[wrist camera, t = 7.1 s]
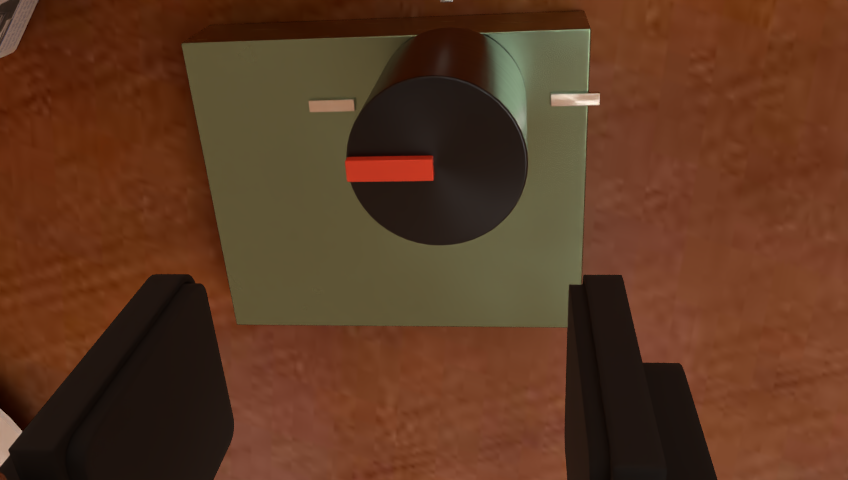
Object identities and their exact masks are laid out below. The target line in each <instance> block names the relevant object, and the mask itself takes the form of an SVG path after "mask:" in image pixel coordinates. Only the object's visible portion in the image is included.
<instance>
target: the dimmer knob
mask: <svg viewBox="0 0 848 480" xmlns="http://www.w3.org/2000/svg"><path fill="white" fill-rule="evenodd" d="M345 168H346V177H347V182H350V183H351V186H352V189H353V191H354V193H355V195H356V197H357V199H358V200H359V202H360V203H361V205H362V206H363V208H364V209H365V210H366V211H367V213H368V214H369V215H370V216H371V217H372V218H373V219H374V220H375V221H376V222H377V223H378V224H380V225H381V226H383V227H384V228H385V229H387V230H388V231H390V232H392V233H393V234H395V235H397V236H399V237H402V238H404V239H406V240H409V241H413V242H416V243H421V244H426V245H438V246H442V245H454V244H459V243H464V242H467V241H470V240H474V239H476V238H478V237H480V236H482V235H484V234H486V233H488V232H489V231H491V230H493V229H494V228H495V227H497V226H498V225H499V224H500V223H502V222H503V221H504V219H505V218H506V217H507V216H508V215H509V214H510V213H511V212H512V210H513V209H514V207H515V206H516V204H517V203H518V201H519V199H520V197H521V195H522V192H523V189H524V187H525V183H526V179H527V173H528V140H527V107H526V90H525V86H524V81H523V78H522V76H521V73H520V71H519V69H518V67H517V65H516V63H515V62H514V60H513V59H512V57H511V56H510V55H509V54H508V53H507V52H506V51H505V49H504V48H502V47H501V46H500V45H499V44H498V43H496V42H495V41H493V40H492V39H490V38H489V37H487V36H485V35H483V34H480V33H478V32H475V31H472V30H469V29H463V28H452V27H447V28H437V29H433V30H429V31H426V32H424V33H421V34H418V35H417V36H415V37H413V38H411V39H410V40H408V41H407V42H406V43H404V44H403V45H402V46H401V47H400V48H399V49H398V50H397V51H396V52H395V53H394V54H393V55H392V57H391V58H390V59H389V61H388V63H387V64H386V66H385V68H384V70H383V71H382V73H381V75H380V77H379V79H378V80H377V82H376V84H375V86H374V88H373V89H372V91H371V93H370V95H369V97H368V99H367V100H366V102H365V104H364V106H363V108H362V109H361V111H360V113H359V115H358V117H357V118H356V120H355V122H354V124H353V127H352V129H351V132H350V135H349V139H348V143H347V152H346V160H345Z"/></svg>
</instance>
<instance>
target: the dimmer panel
mask: <svg viewBox="0 0 848 480" xmlns="http://www.w3.org/2000/svg"><path fill="white" fill-rule="evenodd" d="M440 2H453V0H440ZM447 27H452V28H463V29H469V30H472V31H475V32H478V33H480V34H483V35H485V36H487V37H489V38H490V39H492V40H493V41H495V42H496V43H498V44H499V45H500V46H501V47H502V48H504V49H505V51H506V52H507V53H508V54H509V55H510V56H511V57H512V59H513V60H514V62H515V63H516V65H517V67H518V69H519V71H520V73H521V76H522V78H523V81H524V86H525V90H526V107H527V140H528V173H527V179H526V183H525V187H524V189H523V192H522V195H521V197H520V199H519V201H518V203H517V204H516V206H515V207H514V209H513V210H512V212H511V213H510V214H509V215H508V216H507V217H506V218H505V219H504V221H503V222H502V223H500V224H499V225H498V226H497V227H495V228H494V229H493V230H491V231H489V232H488V233H486V234H484V235H482V236H480V237H478V238H476V239H474V240H470V241H467V242H464V243H459V244H454V245H442V246H438V245H426V244H421V243H416V242H413V241H409V240H406V239H404V238H402V237H399V236H397V235H395V234H393V233H392V232H390V231H388V230H387V229H385V228H384V227H383V226H381V225H380V224H378V223H377V222H376V221H375V220H374V219H373V218H372V217H371V216H370V215H369V214H368V213H367V211H366V210H365V209H364V208H363V206H362V205H361V203H360V202H359V200H358V199H357V197H356V195H355V193H354V191H353V189H352V186H351V183H350V182H347V177H346V168H345V160H346V152H347V143H348V139H349V135H350V132H351V129H352V127H353V124H354V122H355V120H356V118H357V117H358V115H359V113H360V111H361V109H362V108H363V106H364V104H365V102H366V100H367V99H368V97H369V95H370V93H371V91H372V89H373V88H374V86H375V84H376V82H377V80H378V79H379V77H380V75H381V73H382V71H383V70H384V68H385V66H386V64H387V63H388V61H389V59H390V58H391V57H392V55H393V54H394V53H395V52H396V51H397V50H398V49H399V48H400V47H401V46H402V45H403V44H404V43H406V42H407V41H408V40H410V39H411V38H413V37H415V36H417V35H418V34H421V33H424V32H426V31H429V30H433V29H437V28H447ZM181 45H182V50H183V55H184V60H185V65H186V70H187V75H188V81H189V86H190V91H191V96H192V101H193V106H194V111H195V116H196V121H197V126H198V131H199V136H200V141H201V146H202V151H203V156H204V161H205V166H206V171H207V176H208V181H209V186H210V191H211V196H212V201H213V206H214V211H215V216H216V221H217V226H218V231H219V236H220V241H221V246H222V251H223V256H224V261H225V267H226V272H227V277H228V282H229V287H230V292H231V297H232V302H233V307H234V312H235V317H236V322H237V324H238V325H340V326H451V327H562V328H568V294H569V285H582V261H583V234H584V207H585V180H586V153H587V126H588V105H599V103H600V92H589V72H590V45H591V29H590V26H589V23H588V20H587V17H586V15H585V12H584V11H560V12H534V13H508V14H482V15H456V16H430V17H404V18H378V19H352V20H326V21H300V22H274V23H247V24H221V25H209V26H208V27H206V28H205V29H203V30H201V31H200V32H198V33H197V34H195V35H194V36H192V37H191V38H189V39H187V40H186V41H184V42H183V43H182V44H181Z"/></svg>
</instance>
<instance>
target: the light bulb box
mask: <svg viewBox="0 0 848 480" xmlns="http://www.w3.org/2000/svg"><path fill="white" fill-rule="evenodd" d="M37 2H38V0H0V58H1V57H4V56H6V55H9V54H11V53H13V52H14V51H15V50H16V49H17V46H18V44H19V42H20V40H21V38H22V35H23V33H24V31H25V29H26V27H27V24H28V22H29V20H30V18H31V15H32V13H33V11H34V9H35V6H36V4H37Z"/></svg>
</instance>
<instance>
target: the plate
mask: <svg viewBox="0 0 848 480" xmlns="http://www.w3.org/2000/svg"><path fill="white" fill-rule="evenodd" d="M21 433H22V430H21V429H20V428H19V427H18V426H17V425H16V424H15V423H14V422H13V421H12V419H11V418H10V417H9V416H8V415H7V414H6V413H4V412H3V411H2V410H1V409H0V467H1V465H2V464H3V463H4V462H5V460H6V459H7V458H8V457H9V455H10V453H9V451H8V449H9V448H10V447H11V445H12V444H13V443H14V442H15V440H16V439H17V438H18V437H19V436H20V434H21Z"/></svg>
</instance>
